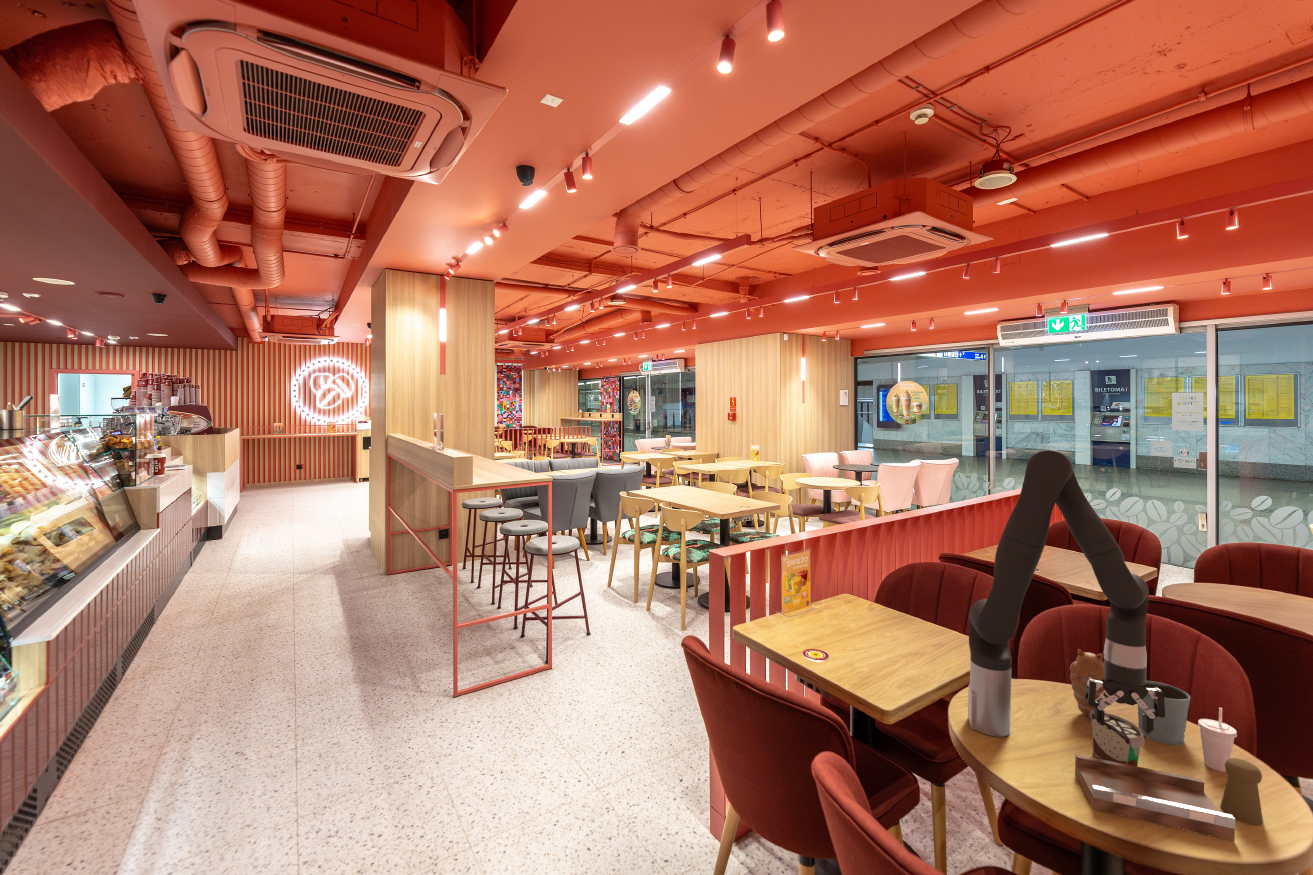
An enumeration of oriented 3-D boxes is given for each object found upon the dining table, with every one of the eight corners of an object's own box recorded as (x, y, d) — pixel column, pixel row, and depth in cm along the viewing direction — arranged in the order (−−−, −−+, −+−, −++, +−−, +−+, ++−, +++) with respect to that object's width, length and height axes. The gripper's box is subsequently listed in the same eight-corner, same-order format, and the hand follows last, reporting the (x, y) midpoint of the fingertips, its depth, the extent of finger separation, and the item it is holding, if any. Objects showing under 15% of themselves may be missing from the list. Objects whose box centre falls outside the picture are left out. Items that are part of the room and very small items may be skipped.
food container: (1158, 782, 122) (1160, 739, 121) (1131, 782, 122) (1132, 739, 121) (1113, 749, 134) (1114, 709, 133) (1088, 749, 134) (1089, 709, 134)
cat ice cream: (1068, 716, 148) (1070, 651, 148) (1068, 704, 155) (1070, 642, 154) (1110, 727, 143) (1112, 660, 142) (1108, 714, 149) (1110, 650, 149)
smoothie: (1243, 776, 123) (1246, 716, 123) (1210, 773, 125) (1212, 713, 124) (1220, 759, 130) (1222, 702, 129) (1189, 756, 131) (1191, 699, 130)
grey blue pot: (1130, 733, 141) (1131, 687, 140) (1140, 719, 147) (1141, 676, 146) (1184, 752, 133) (1186, 704, 132) (1192, 737, 139) (1194, 691, 138)
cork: (1211, 804, 115) (1213, 754, 114) (1237, 803, 115) (1239, 752, 115) (1245, 826, 109) (1247, 772, 108) (1272, 824, 109) (1274, 771, 109)
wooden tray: (1094, 810, 113) (1094, 789, 113) (1075, 773, 125) (1075, 754, 125) (1235, 842, 105) (1236, 819, 104) (1200, 799, 116) (1201, 779, 116)
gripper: (1092, 661, 126) (1091, 729, 127) (1172, 672, 121) (1170, 743, 121) (1082, 648, 133) (1080, 713, 134) (1156, 658, 128) (1154, 725, 128)
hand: (1123, 727), depth 128 cm, fingers open, 8 cm apart
